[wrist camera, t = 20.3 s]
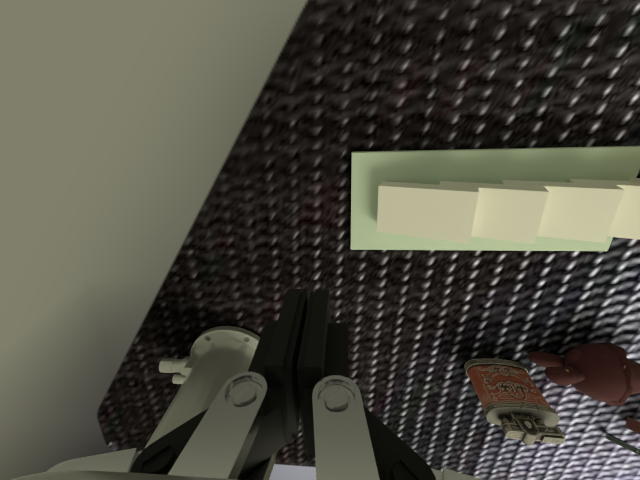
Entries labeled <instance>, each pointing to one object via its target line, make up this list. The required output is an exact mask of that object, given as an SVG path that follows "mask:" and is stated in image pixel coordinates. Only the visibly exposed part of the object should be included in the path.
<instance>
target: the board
mask: <svg viewBox="0 0 640 480" xmlns="http://www.w3.org/2000/svg"><path fill="white" fill-rule="evenodd" d="M639 169H640V146H602V147H555V148H508V149H461V150H414V151H367V152H352V165H351V249H352V250H519V251H608V249H609V246H610V244H611V241H612V238H613V237H609V236H607V239H606V241H605V243H602V242H592V241H581V240H571V239H561V238H551V237H540V236H537V237H536V241H535V244H531V243H522V242H513V241H505V240H496V239H488V238H479V237H471V239H470V244H469V243H461V242H453V241H445V240H437V239H429V238H421V237H414V236H406V235H398V234H390V233H382V232H377V213H378V189H379V185H380V184H381V183H382V182H383V181H386V182H403V183H420V184H437V185H440V181H452V182H470V183H489V184H501V181H502V180H521V181H546V182H568V181H569V179H593V180H617V181H629V179H630V178H636V177H637V174H638V172H639Z"/></svg>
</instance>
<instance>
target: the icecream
mask: <svg viewBox="0 0 640 480" xmlns="http://www.w3.org/2000/svg"><path fill="white" fill-rule="evenodd" d="M529 358H530V360H531V361H532V362H534V363H535V364H538V365H541V366H543V367H546V370H545V374H546V375H547V377H548V379H549V380H550V381H551V382H553V383H556V384H558V385H565V386H568V385H570V384H571V385H572V386H573V387H574V388H575V389H576V390H578V391H580V392H582V393H583V394H585V395H587V396H590V397H592V398H594V399H596V400H599V401H602V402H605V403H607V404H608V405H611V406H614V405H618V406H619V405H623V404H624V403H625V401H626V400H627V398H628V396H630V395H632V394H637V393H640V364H639V363H637V362H635V361H632V360H630V359H628V358H626V352H625V350H624V349H623V348H621V347H618V346H615V345H613V344H612V343H611V342H609V343H598V344H587V343H584V344H581V345H579V346H576V347H574V348H573V349H572V350H569V351H568V352H567V353H566V355H565V356H564V358H563V357H560V356H557V355H554V354H550V353H546V352H537V351H533V352H530V353H529Z"/></svg>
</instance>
